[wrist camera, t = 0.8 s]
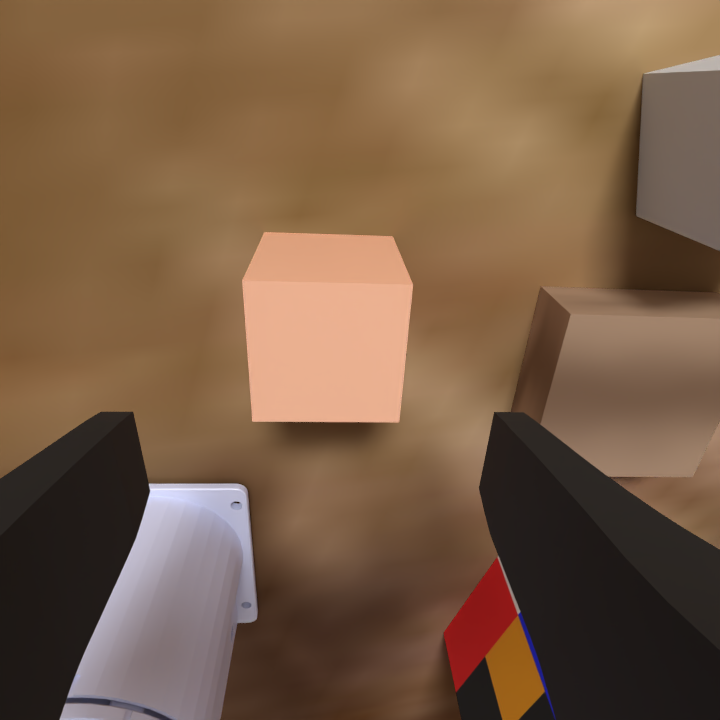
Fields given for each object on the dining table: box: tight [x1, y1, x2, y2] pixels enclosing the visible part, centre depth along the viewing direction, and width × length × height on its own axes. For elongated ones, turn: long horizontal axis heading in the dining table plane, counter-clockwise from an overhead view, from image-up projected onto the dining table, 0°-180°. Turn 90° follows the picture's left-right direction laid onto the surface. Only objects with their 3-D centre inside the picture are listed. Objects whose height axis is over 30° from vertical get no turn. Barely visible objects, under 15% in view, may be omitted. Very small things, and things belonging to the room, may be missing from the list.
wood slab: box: [511, 286, 720, 477], centre depth 20 cm, size 7×7×3 cm
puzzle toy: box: [444, 556, 556, 720], centre depth 23 cm, size 10×10×10 cm
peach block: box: [242, 232, 413, 422], centre depth 16 cm, size 4×4×5 cm
